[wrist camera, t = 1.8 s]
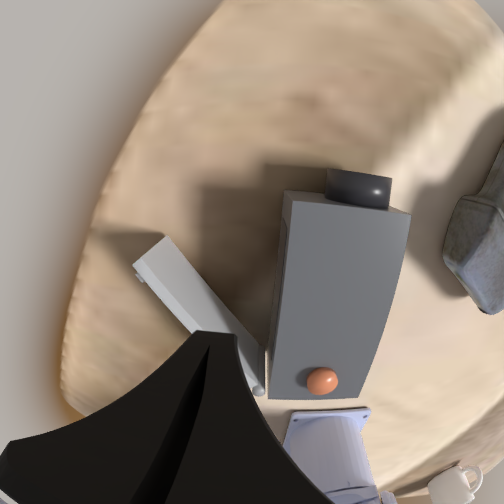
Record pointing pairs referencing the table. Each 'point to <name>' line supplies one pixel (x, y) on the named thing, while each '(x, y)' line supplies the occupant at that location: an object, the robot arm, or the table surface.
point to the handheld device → (480, 241)
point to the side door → (198, 305)
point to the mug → (454, 486)
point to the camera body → (333, 286)
